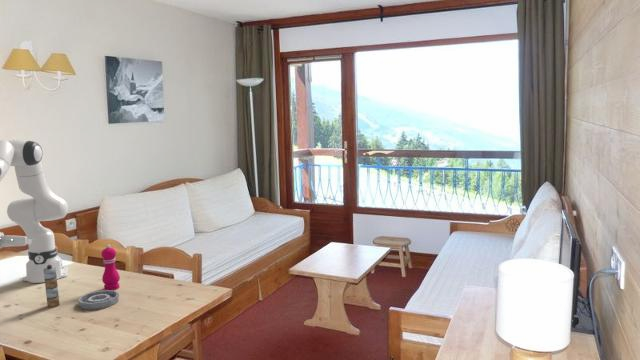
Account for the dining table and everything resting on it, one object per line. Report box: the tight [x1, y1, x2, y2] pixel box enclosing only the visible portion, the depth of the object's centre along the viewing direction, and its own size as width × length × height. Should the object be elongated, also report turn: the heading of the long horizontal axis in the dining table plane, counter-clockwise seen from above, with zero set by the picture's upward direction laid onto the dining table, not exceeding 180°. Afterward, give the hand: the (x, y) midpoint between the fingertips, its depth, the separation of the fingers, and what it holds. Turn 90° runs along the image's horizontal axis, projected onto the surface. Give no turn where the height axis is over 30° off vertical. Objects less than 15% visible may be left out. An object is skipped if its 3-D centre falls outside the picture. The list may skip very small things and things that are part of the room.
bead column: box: [44, 265, 61, 308], centre depth 207 cm, size 4×4×17 cm
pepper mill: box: [101, 244, 121, 291], centre depth 225 cm, size 7×7×20 cm
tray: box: [77, 289, 120, 311], centre depth 209 cm, size 15×15×3 cm
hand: (31, 242), depth 201 cm, fingers open, 8 cm apart
